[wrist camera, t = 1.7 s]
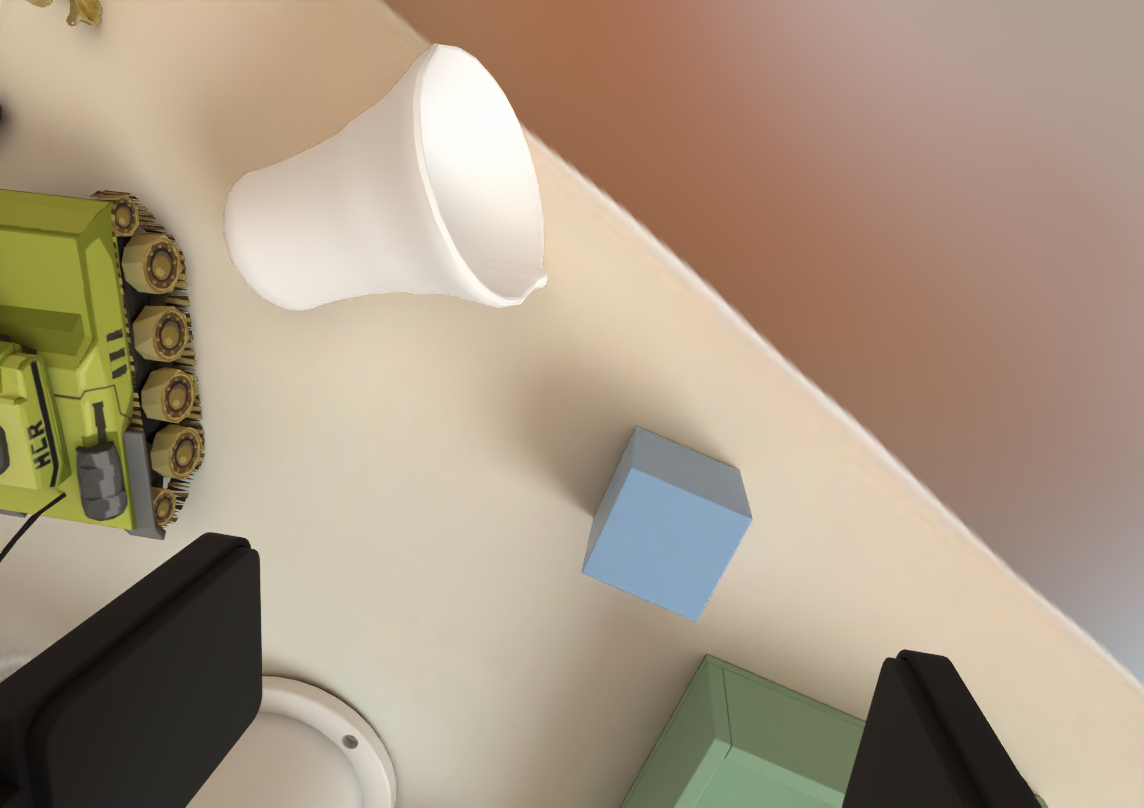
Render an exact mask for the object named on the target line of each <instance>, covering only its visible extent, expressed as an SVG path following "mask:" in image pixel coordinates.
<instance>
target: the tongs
mask: <svg viewBox="0 0 1144 808" xmlns="http://www.w3.org/2000/svg"><path fill="white" fill-rule="evenodd" d="M27 1H28V2H30V3H31V4H33V5H35V6H38V7H45V6H48V5H50V4H51V3H52V2H53V0H27ZM101 12H102V8H101V6H100V3H99V2H98V1H97V0H70V13H69V15H68V17H67V20H66V21H67V23H68V24H69V25H70V26H73V25H74V26H76V25H78V23H79V22H80V21H81V22H84V23H86V24H89V25H91V26H93V27H96V26H98V25H99V24H100V22H101V19H100V13H101ZM72 22H74V24H73V25H72Z"/></svg>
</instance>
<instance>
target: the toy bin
mask: <svg viewBox="0 0 1144 808" xmlns="http://www.w3.org/2000/svg"><path fill="white" fill-rule="evenodd" d="M865 723H866V722H864V721H862V720H859V719H857V718H855V717H852V716H850V715H848V714H845V713H843V712H841V711H838V710H836V709H834V708H831V707H829V706H827V705H824V704H822V703H820V702H817V701H815V700H813V699H810V698H808V697H806V696H803V695H801V694H799V693H796V692H794V691H792V690H789V689H787V688H785V687H782V686H780V685H778V684H775V683H773V682H771V681H768V680H766V679H764V678H761V677H759V676H757V675H755V674H752V673H750V672H748V671H745V670H743V669H741V668H738V667H736V666H734V665H731V664H729V663H727V662H724V661H722V660H720V659H717V658H715V657H713V656H710V655H708V654H707V655H706V656H705V658H704V660H703V662H702V663H701V665H700V667H699V669H698V670H697V672H696V674H695V676H694V678H693V679H692V681H691V683H690V685H689V686H688V688H687V690H686V692H685V694H684V695H683V697H682V699H681V701H680V702H679V704H678V706H677V708H676V710H675V711H674V713H673V715H672V717H671V718H670V720H669V722H668V724H667V725H666V727H665V729H664V731H663V733H662V734H661V736H660V738H659V740H658V741H657V743H656V745H655V747H654V749H653V750H652V752H651V754H650V756H649V757H648V759H647V761H646V763H645V764H644V766H643V768H642V770H641V772H640V773H639V775H638V777H637V779H636V780H635V782H634V784H633V786H632V788H631V789H630V791H629V793H628V795H627V796H626V798H625V800H624V802H623V803H622V805H621V807H620V808H842V804H843V800H844V797H845V793H846V790H847V786H848V783H849V779H850V776H851V772H852V769H853V765H854V762H855V758H856V755H857V751H858V748H859V744H860V741H861V737H862V734H863V730H864V727H865ZM1035 797H1036V798H1037V800H1038V802H1039V803H1040V805H1041V806H1042V808H1048V806H1047V804H1046V803H1045V801H1044V800H1043V798H1041V797H1038V796H1036V795H1035Z"/></svg>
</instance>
